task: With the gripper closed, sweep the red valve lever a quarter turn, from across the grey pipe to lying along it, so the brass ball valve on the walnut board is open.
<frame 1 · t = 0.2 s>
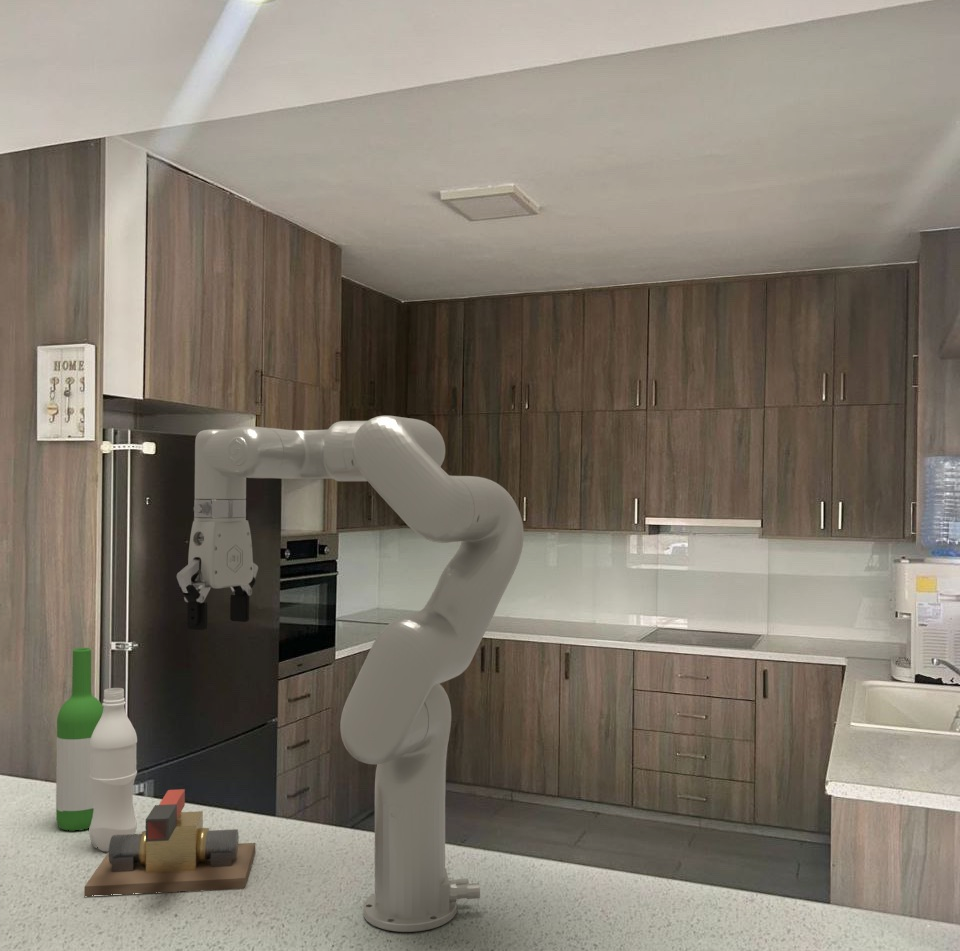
hand: (219, 625, 144), 37 cm above the countertop, tool pointing down, fingers open, 9 cm apart
mounting board: (174, 873, 142), on the countertop
ball valve: (175, 841, 142), on the mounting board, point 5 cm above the countertop
valve lever: (167, 816, 136), point 10 cm above the countertop, hinge at 0.0°
wine bottle: (80, 825, 163), on the countertop
water bottle: (113, 847, 153), on the countertop
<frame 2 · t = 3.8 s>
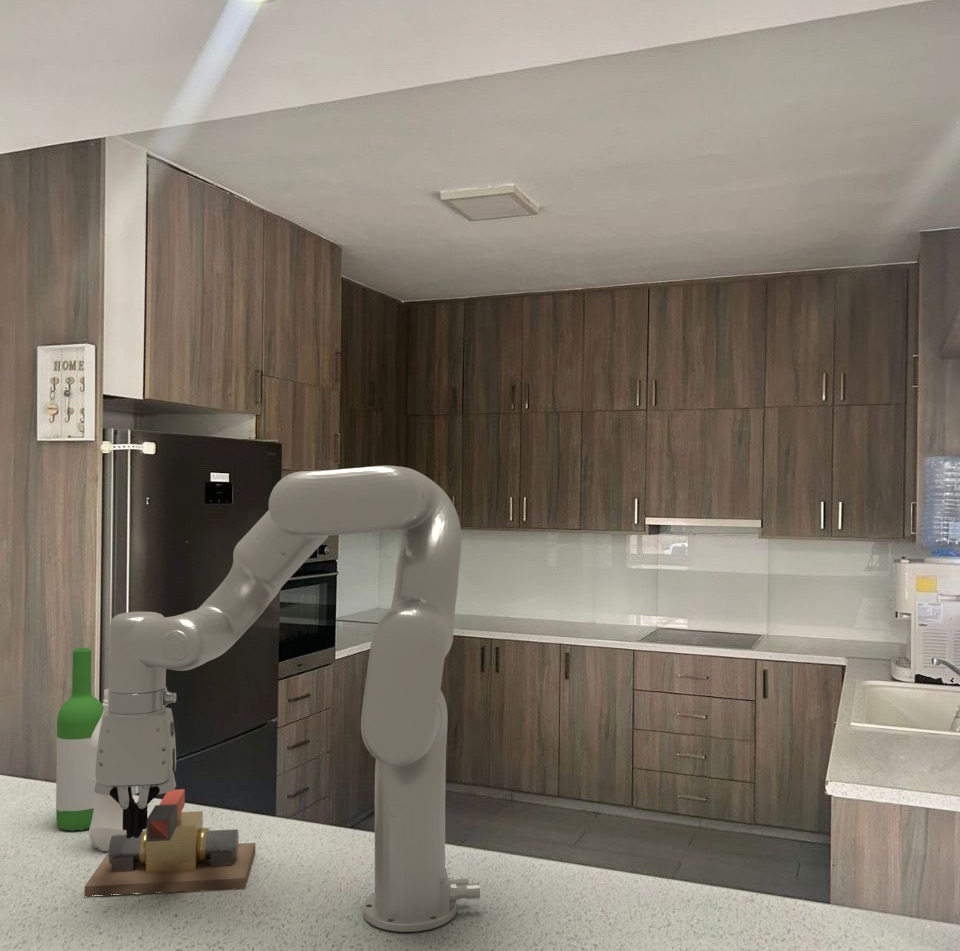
hand: (134, 834, 132), 9 cm above the countertop, tool pointing down, fingers closed
valve lever: (167, 816, 136), point 10 cm above the countertop, hinge at 0.7°, touching gripper
everything else where it was.
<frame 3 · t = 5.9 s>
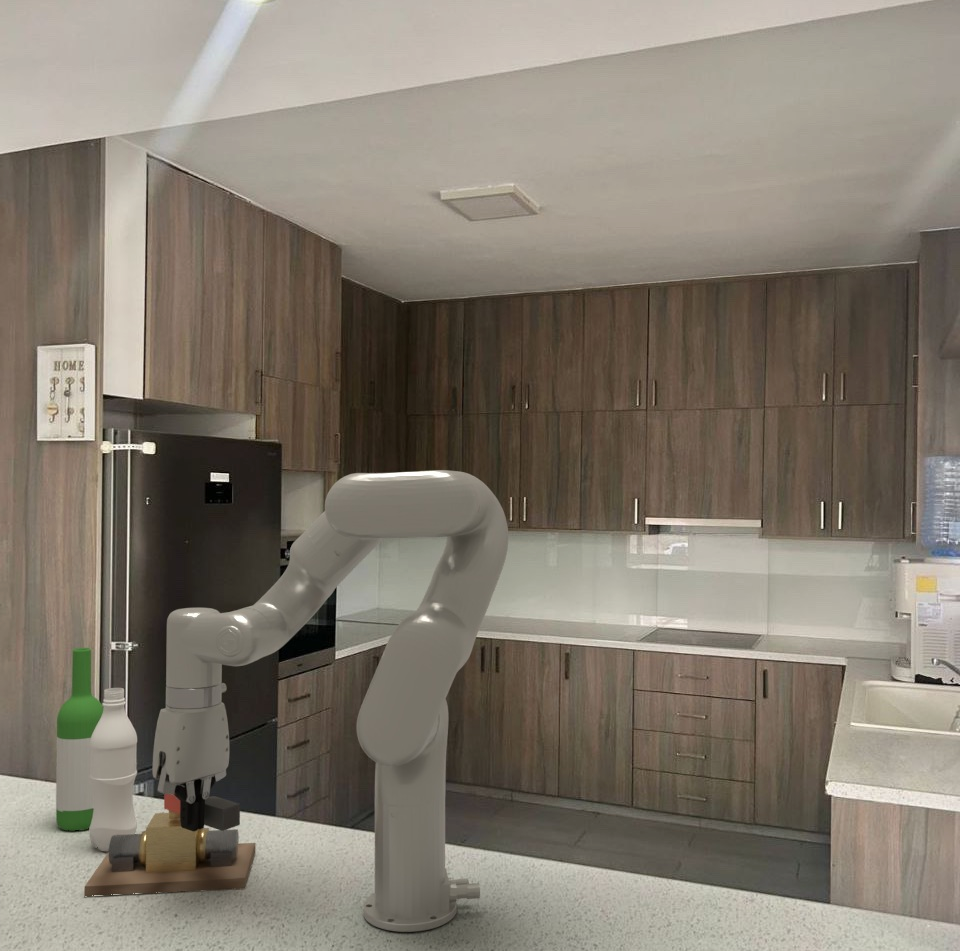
hand: (192, 827, 134), 10 cm above the countertop, tool pointing down, fingers closed
valve lever: (200, 811, 139), point 10 cm above the countertop, hinge at 45.8°, touching gripper
everything else where it was.
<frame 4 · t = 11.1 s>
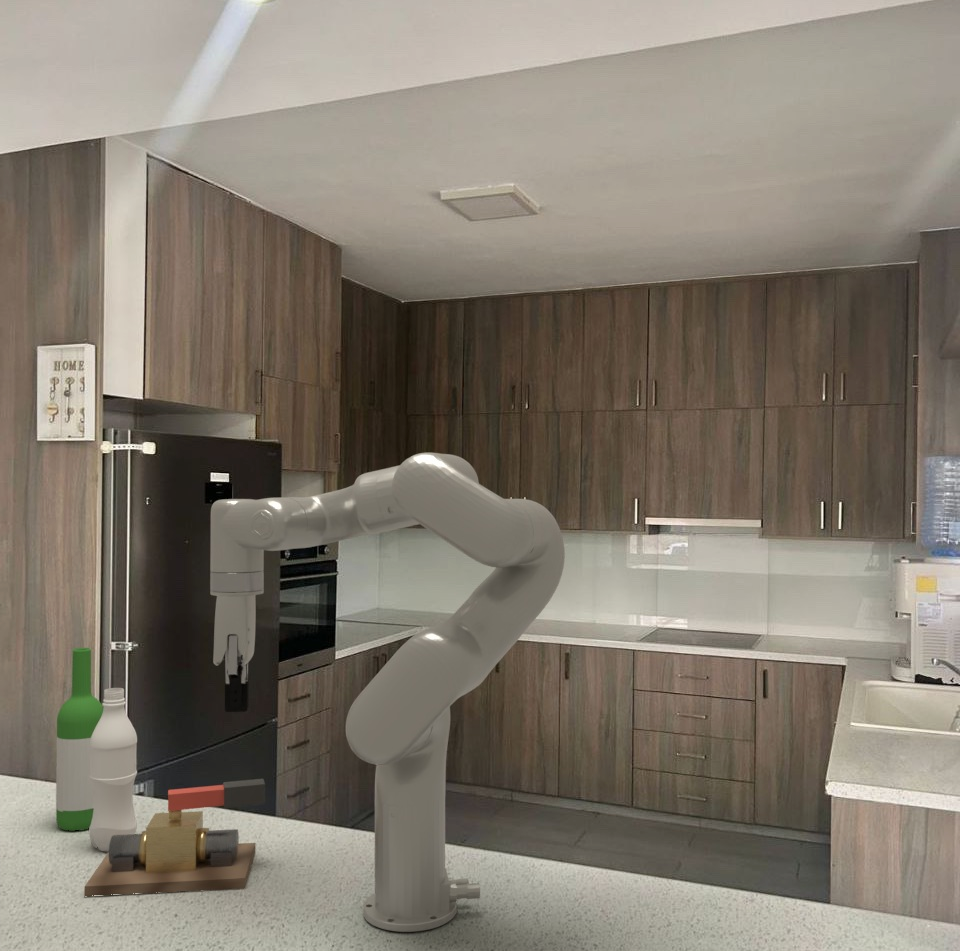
hand: (236, 710, 138), 25 cm above the countertop, tool pointing down, fingers closed
valve lever: (216, 799, 144), point 10 cm above the countertop, hinge at 100.8°
everything else where it was.
at the end: valve lever at +101° (first picture: +0°); water bottle moved 0.2 cm from its start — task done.
